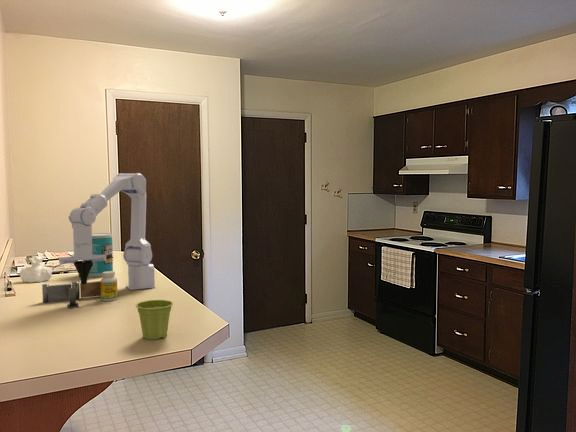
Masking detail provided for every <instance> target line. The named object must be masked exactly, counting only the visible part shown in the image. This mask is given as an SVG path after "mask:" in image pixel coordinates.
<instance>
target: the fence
mask: <svg viewBox="0 0 576 432" xmlns="http://www.w3.org/2000/svg"><path fill="white" fill-rule="evenodd" d="M41 287H42V288H41V290H42V303H43V304H46V303H55V302H56V303H57V302H65V301H69V289H70V288H76V301H77V300H81V297H80V280H78V281H71V283H63V284H54V285H52V284H51V285H50V284H49V283H43V284H41Z"/></svg>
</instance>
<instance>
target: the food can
mask: <svg viewBox="0 0 576 432" xmlns="http://www.w3.org/2000/svg"><path fill="white" fill-rule="evenodd" d="M92 255H106V261H92V263H93V266H92V268H91V270H90V272H89V275H88V278H92V279H93V278H95V279H96V278H103V276H102V273H103V272H106V271H114V267H113V266H114V265H113V264H114V262H113V261H114V259H113V258H114V257H113V255H114V254H113V235H112V233H110V232H92ZM89 260H90V259H89Z"/></svg>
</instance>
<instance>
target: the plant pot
mask: <svg viewBox="0 0 576 432" xmlns="http://www.w3.org/2000/svg"><path fill="white" fill-rule="evenodd" d="M173 305H174V301H171V300H167V299H166V300H165V299H150V300H145V301H140V302H138V303H136V304H135V308H137V309H136V310H137V313H138V315H139V320H140V328H141V332H142V333H141V334H142V338H143V339H144V338H145V339H147V340H159V339H160V338H166V337H167V335H168V332H169V331H168V330H169V322H170V321H169V320H170V314H171V313H170V312H171V311H172V306H173Z"/></svg>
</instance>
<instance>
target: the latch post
mask: <svg viewBox="0 0 576 432" xmlns="http://www.w3.org/2000/svg"><path fill="white" fill-rule="evenodd" d="M68 302H69V303H68V304H67V305H66V308H67V310H68V309H76V308H79V307H80V306H79V305H80V304H79V303H77V300H76V288H70V289H69V300H68Z"/></svg>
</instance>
